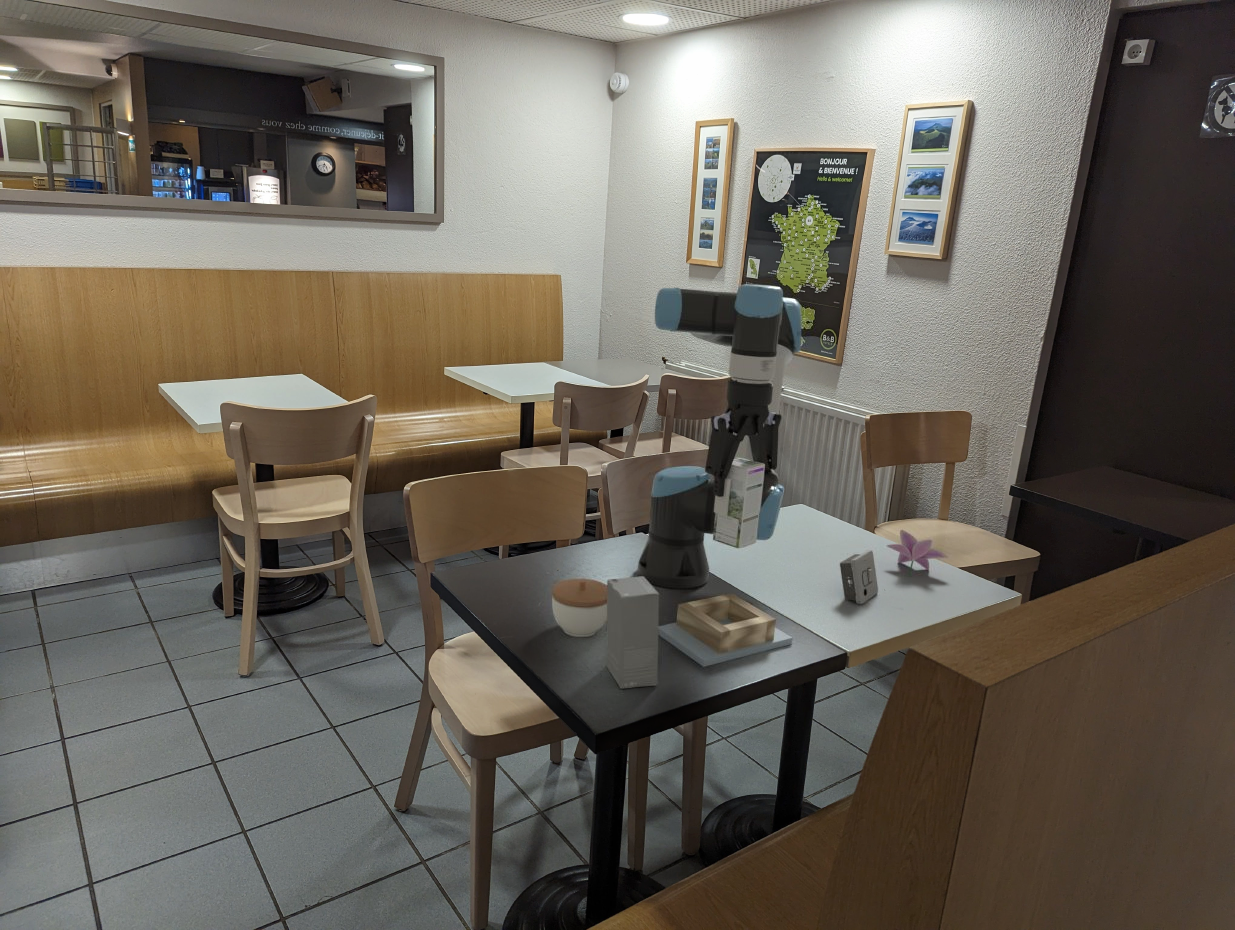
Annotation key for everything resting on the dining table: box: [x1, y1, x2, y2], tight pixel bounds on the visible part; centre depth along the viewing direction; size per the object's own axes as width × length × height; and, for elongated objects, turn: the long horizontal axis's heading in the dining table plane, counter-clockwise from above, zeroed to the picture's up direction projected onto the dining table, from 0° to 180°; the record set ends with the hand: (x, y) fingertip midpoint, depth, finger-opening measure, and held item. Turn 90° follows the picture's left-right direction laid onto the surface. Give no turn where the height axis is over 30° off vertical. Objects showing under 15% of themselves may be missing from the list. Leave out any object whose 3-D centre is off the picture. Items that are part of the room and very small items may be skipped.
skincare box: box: [606, 576, 660, 689], centre depth 137 cm, size 8×7×16 cm
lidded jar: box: [551, 578, 607, 638], centre depth 153 cm, size 11×11×9 cm
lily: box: [886, 529, 949, 578], centre depth 193 cm, size 12×12×10 cm
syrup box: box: [712, 457, 765, 549], centre depth 148 cm, size 6×6×14 cm
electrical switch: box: [839, 550, 879, 605], centre depth 177 cm, size 9×5×9 cm, turn 141°
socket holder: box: [658, 593, 793, 668], centre depth 154 cm, size 20×14×5 cm
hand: (737, 511), depth 148 cm, fingers closed on syrup box, 7 cm apart
